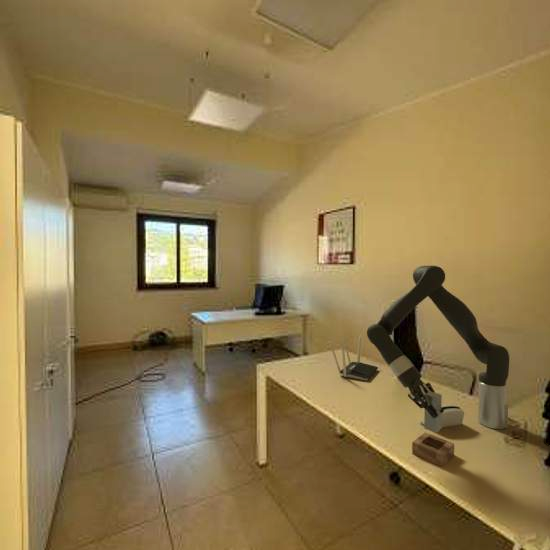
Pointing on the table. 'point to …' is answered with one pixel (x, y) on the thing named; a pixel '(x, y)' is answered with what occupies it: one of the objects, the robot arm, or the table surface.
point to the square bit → (435, 402)
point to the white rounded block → (450, 415)
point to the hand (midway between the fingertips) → (438, 414)
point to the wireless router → (354, 365)
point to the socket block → (433, 449)
